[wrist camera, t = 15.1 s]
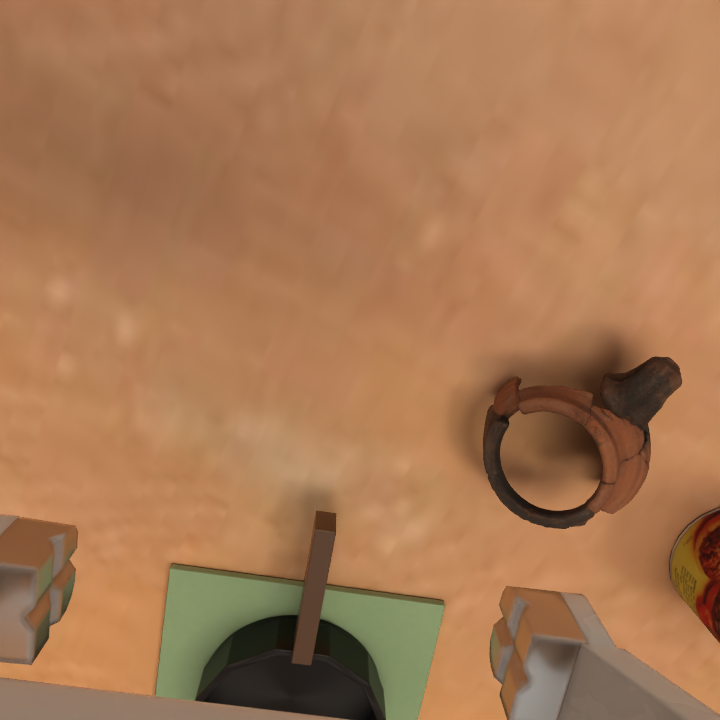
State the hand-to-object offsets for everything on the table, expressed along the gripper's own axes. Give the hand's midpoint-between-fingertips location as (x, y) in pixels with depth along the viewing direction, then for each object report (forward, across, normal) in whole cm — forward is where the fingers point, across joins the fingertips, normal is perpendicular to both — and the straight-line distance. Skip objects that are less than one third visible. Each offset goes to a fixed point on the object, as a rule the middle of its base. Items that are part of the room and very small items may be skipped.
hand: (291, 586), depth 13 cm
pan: (+27, -2, +22) cm, 34 cm away
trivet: (+27, -2, +26) cm, 38 cm away
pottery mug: (+27, -16, +4) cm, 32 cm away
